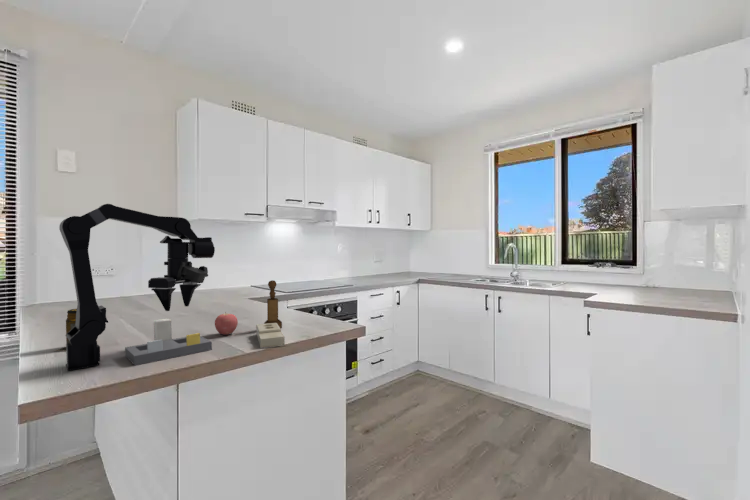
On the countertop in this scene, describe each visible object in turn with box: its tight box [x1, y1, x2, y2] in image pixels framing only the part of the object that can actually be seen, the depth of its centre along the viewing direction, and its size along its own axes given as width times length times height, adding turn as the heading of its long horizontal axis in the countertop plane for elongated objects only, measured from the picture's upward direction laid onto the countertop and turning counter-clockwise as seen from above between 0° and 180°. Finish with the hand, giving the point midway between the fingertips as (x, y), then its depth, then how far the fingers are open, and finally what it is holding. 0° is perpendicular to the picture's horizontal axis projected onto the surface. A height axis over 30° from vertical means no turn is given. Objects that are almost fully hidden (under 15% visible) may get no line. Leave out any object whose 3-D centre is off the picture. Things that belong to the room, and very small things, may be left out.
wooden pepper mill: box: [263, 280, 283, 330], centre depth 141 cm, size 7×6×18 cm
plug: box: [153, 318, 173, 341], centre depth 119 cm, size 4×4×8 cm
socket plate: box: [124, 332, 213, 366], centre depth 111 cm, size 20×12×6 cm, turn 134°
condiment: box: [54, 308, 77, 352], centre depth 118 cm, size 7×8×12 cm
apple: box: [214, 311, 239, 336], centre depth 132 cm, size 7×7×8 cm
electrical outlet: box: [255, 323, 286, 349], centre depth 124 cm, size 7×4×18 cm
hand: (177, 308), depth 116 cm, fingers open, 9 cm apart
